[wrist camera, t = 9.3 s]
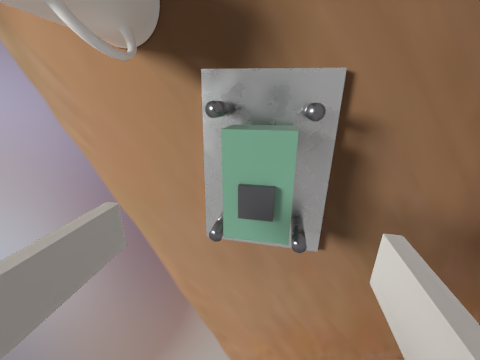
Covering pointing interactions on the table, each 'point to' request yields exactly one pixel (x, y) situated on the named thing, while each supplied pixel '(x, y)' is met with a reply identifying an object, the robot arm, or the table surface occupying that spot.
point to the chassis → (275, 113)
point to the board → (258, 181)
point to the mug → (100, 21)
